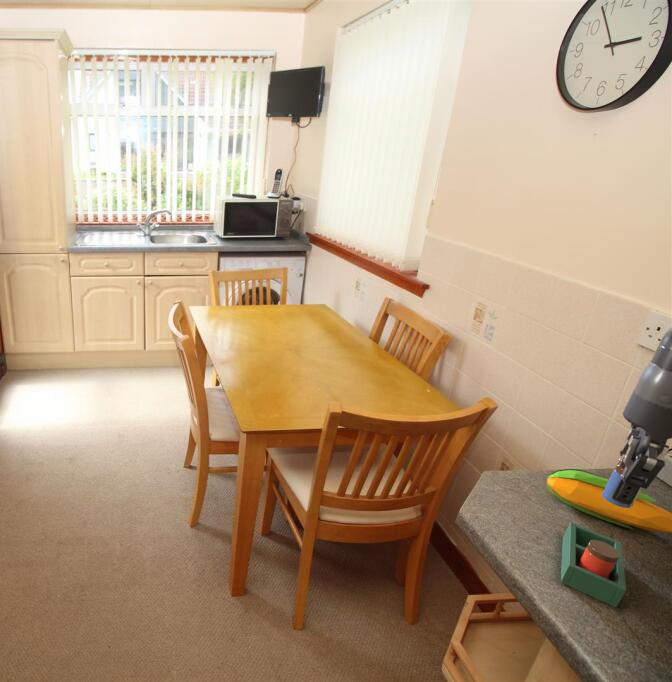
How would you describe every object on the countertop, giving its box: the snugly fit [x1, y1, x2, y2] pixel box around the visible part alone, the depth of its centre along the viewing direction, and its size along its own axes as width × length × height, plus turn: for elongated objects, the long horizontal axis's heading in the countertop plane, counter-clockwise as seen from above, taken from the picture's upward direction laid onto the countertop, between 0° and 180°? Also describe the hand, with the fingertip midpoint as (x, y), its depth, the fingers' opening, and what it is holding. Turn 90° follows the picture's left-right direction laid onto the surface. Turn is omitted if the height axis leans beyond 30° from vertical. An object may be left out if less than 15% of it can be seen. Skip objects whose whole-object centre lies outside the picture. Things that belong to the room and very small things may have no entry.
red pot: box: [577, 540, 620, 579], centre depth 73 cm, size 4×4×6 cm
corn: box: [546, 468, 672, 534], centre depth 87 cm, size 7×8×20 cm
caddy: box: [560, 521, 627, 608], centre depth 76 cm, size 7×12×4 cm, turn 140°
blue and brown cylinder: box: [602, 461, 643, 508], centre depth 73 cm, size 4×4×6 cm
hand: (620, 493), depth 74 cm, fingers closed on blue and brown cylinder, 3 cm apart
